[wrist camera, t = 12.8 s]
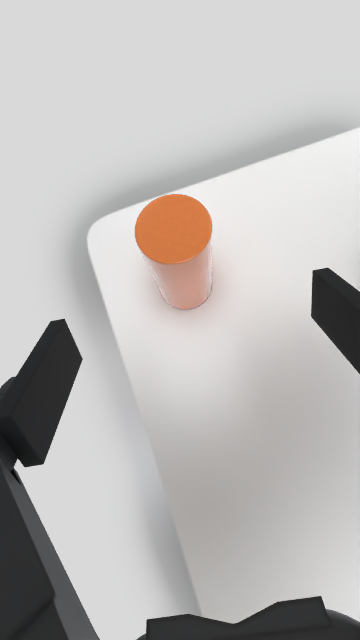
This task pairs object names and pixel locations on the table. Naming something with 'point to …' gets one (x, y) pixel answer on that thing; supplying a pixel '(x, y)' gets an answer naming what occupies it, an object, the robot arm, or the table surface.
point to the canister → (177, 248)
